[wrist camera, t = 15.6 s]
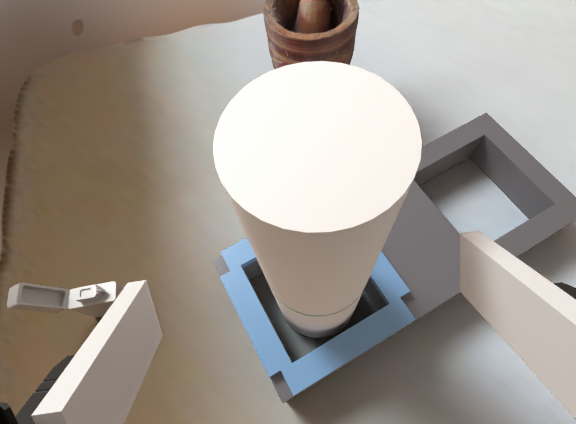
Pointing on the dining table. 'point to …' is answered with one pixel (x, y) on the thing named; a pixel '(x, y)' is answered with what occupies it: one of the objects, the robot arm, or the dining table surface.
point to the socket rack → (408, 254)
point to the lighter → (64, 298)
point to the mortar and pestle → (310, 30)
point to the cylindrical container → (317, 182)
